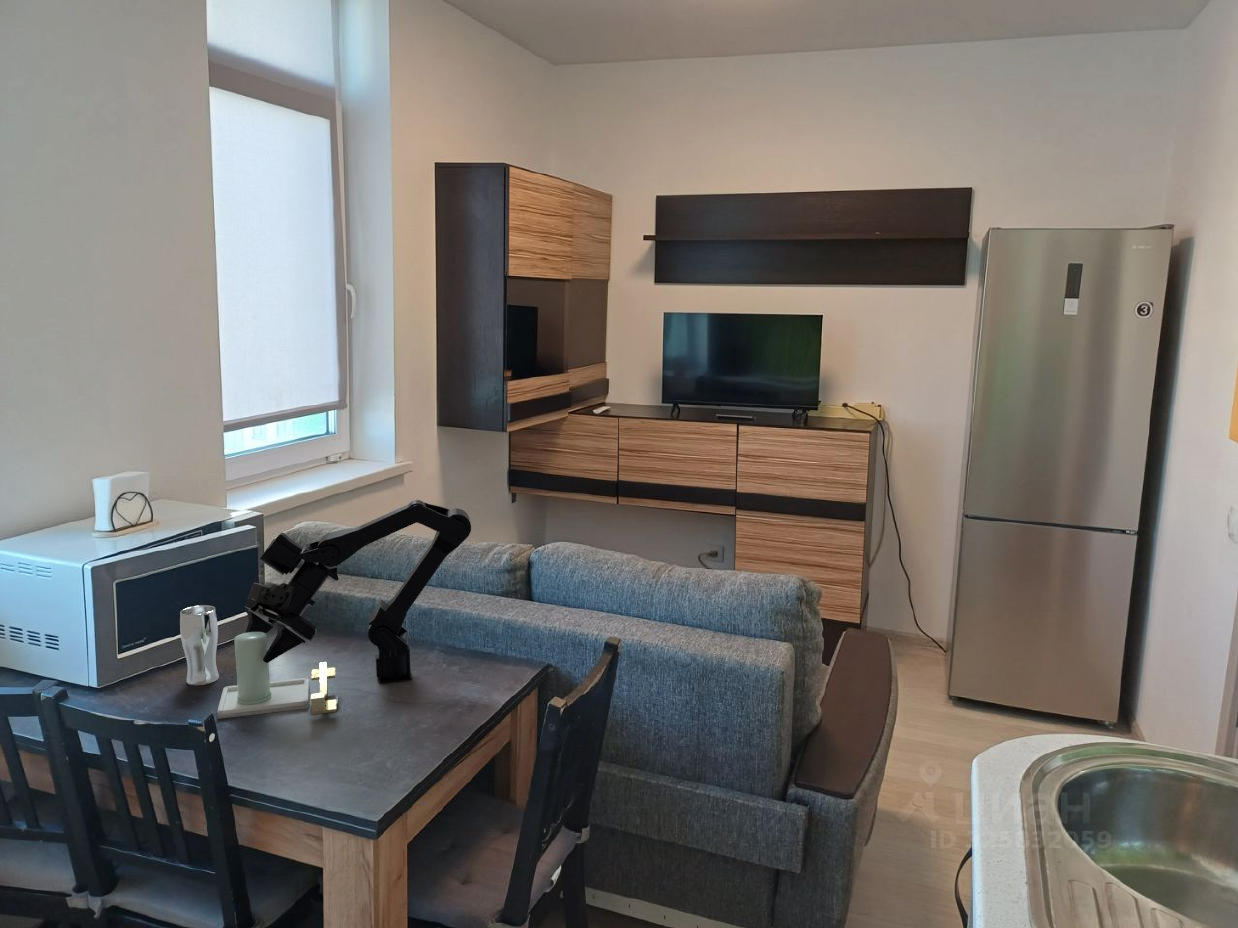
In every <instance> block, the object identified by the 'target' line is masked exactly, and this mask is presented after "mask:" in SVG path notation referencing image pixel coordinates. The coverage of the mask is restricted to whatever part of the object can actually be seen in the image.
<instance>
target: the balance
mask: <svg viewBox="0 0 1238 928" xmlns="http://www.w3.org/2000/svg"><path fill="white" fill-rule="evenodd" d="M335 678H336V667H335V666H334V667H327V662H326V661H324V662H319V668H317V669H316V668H315V669H311V681H318V680H319V692H316V693H310V713H311V715H317V714H324V713H325V714H326V713H327V714H328V713H332V712H333V713H334V712H337V710H339V695H338V694H332V695H329V692H328V691H329V690H328V681H327V680H328V679H335Z"/></svg>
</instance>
